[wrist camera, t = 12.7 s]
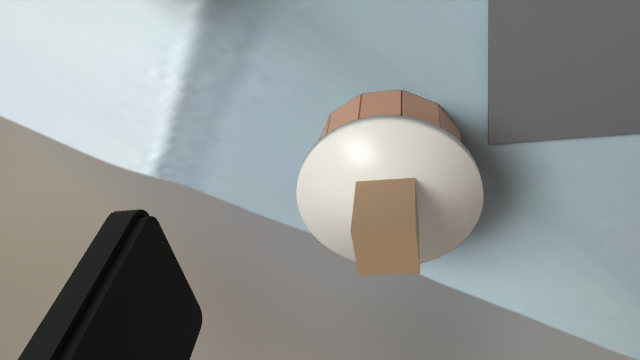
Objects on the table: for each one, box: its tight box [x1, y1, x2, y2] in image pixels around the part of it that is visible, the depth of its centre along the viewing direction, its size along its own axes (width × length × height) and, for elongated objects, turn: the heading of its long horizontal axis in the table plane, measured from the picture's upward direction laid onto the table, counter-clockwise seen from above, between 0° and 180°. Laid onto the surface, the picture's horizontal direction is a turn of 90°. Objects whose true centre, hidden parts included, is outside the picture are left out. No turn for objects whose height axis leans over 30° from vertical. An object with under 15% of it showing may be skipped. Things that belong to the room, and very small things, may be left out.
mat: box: [488, 0, 640, 145], centre depth 37 cm, size 15×15×1 cm
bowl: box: [319, 90, 462, 142], centre depth 43 cm, size 11×11×5 cm
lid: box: [297, 115, 484, 275], centre depth 39 cm, size 13×13×6 cm
